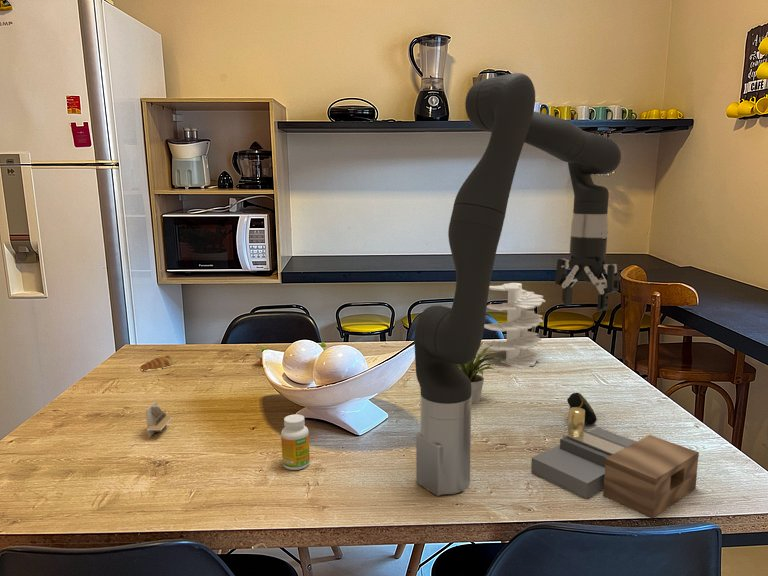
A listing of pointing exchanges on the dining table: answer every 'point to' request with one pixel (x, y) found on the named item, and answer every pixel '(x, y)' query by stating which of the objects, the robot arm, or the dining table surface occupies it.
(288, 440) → the supplement bottle
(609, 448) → the bolt
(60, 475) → the dining table surface
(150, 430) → the architectural model
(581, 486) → the grey grooved block
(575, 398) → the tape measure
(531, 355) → the spiral staircase
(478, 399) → the house plant
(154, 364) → the pastry
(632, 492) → the block
